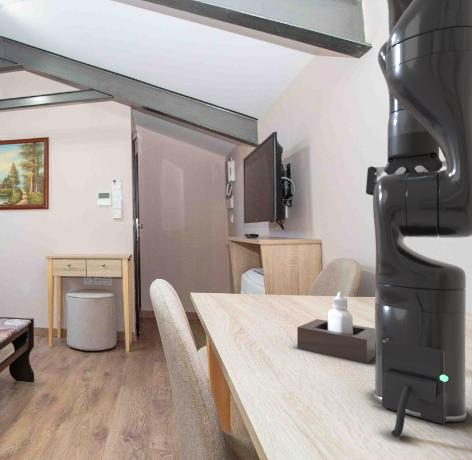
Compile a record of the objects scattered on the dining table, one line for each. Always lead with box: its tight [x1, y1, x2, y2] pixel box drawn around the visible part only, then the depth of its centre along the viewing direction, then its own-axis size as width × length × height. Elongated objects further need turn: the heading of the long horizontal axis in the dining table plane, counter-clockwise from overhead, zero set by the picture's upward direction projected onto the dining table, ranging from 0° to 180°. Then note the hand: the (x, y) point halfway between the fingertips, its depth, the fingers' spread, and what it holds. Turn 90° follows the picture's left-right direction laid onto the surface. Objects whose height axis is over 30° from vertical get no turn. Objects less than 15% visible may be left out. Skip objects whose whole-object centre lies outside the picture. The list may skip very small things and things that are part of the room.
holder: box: [296, 318, 375, 364], centre depth 79 cm, size 12×12×4 cm
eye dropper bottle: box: [327, 291, 354, 335], centre depth 79 cm, size 4×6×12 cm
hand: (412, 214), depth 76 cm, fingers open, 8 cm apart
